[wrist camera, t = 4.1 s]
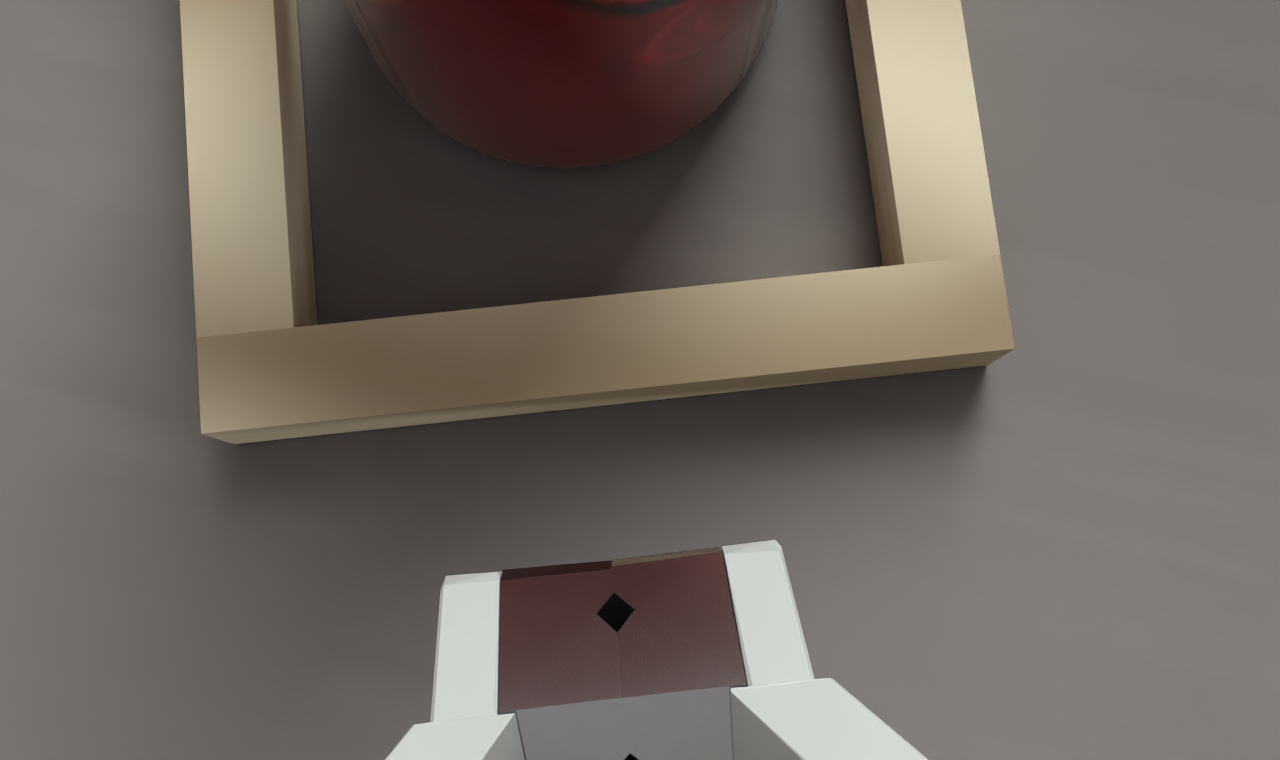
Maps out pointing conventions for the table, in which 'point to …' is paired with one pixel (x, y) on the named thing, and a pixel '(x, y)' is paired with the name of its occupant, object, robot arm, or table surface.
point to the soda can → (564, 70)
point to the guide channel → (590, 326)
